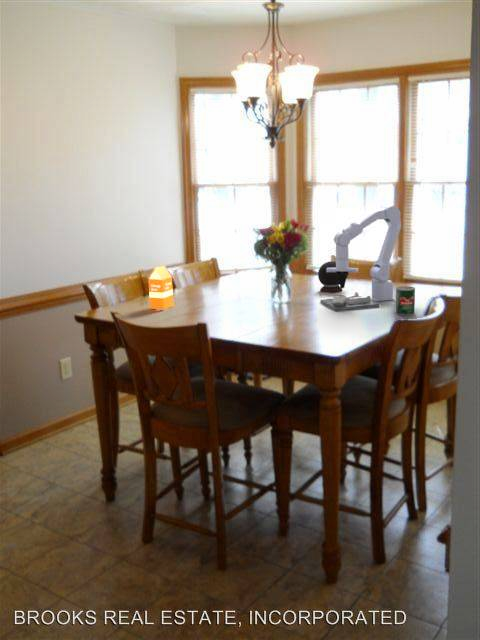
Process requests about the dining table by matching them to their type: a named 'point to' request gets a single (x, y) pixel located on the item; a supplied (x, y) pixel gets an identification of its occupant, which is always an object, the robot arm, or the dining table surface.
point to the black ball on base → (329, 279)
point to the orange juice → (160, 288)
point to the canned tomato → (405, 300)
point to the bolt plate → (348, 307)
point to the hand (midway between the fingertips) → (342, 287)
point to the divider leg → (352, 296)
